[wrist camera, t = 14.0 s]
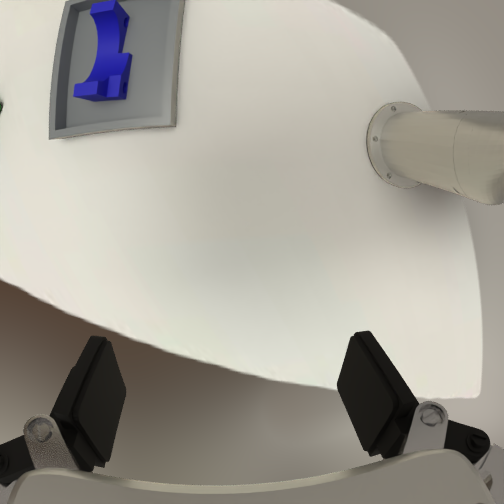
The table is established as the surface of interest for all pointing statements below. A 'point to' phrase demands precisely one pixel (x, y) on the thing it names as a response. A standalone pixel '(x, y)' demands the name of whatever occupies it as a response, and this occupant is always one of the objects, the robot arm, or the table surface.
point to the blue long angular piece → (108, 56)
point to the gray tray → (141, 72)
